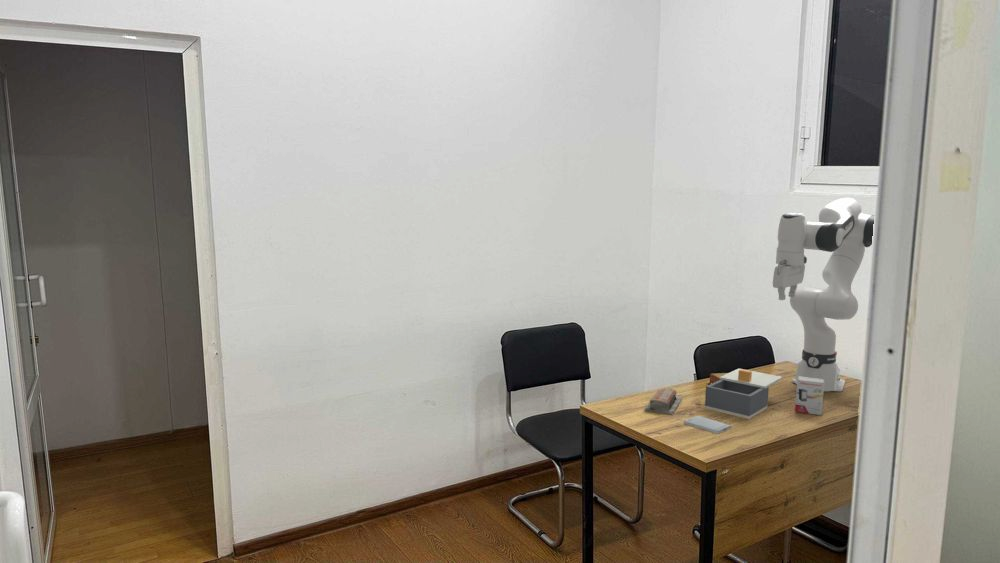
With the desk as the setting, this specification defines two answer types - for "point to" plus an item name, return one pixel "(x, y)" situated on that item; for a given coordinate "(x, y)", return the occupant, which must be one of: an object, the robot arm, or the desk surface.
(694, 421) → the hard drive
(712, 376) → the carton
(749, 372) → the lid flap
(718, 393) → the charcoal box
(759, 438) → the desk surface
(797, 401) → the ink box
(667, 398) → the packaged product
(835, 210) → the robot arm
